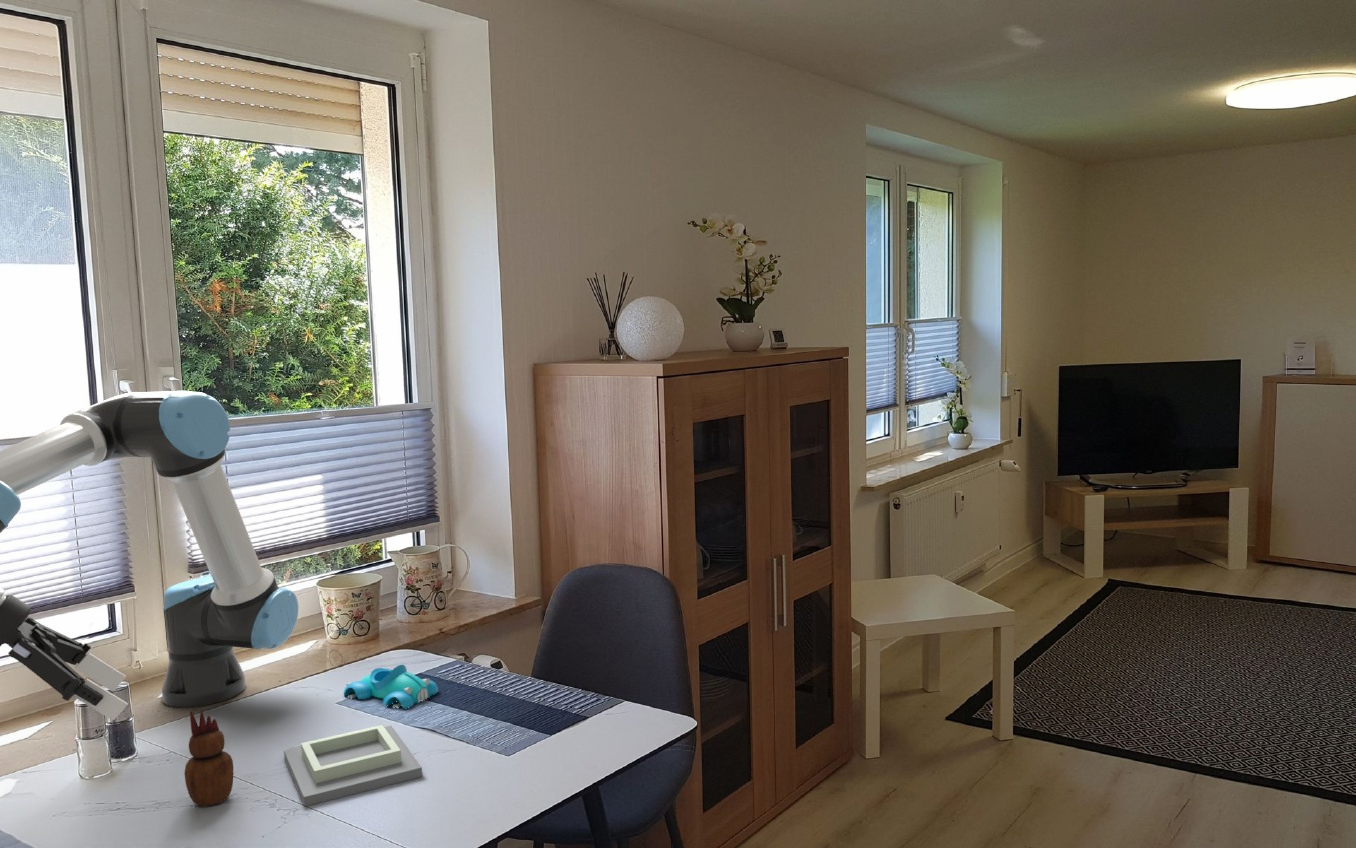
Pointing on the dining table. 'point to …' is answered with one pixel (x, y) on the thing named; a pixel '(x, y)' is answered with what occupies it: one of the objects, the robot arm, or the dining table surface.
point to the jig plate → (350, 764)
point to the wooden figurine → (208, 764)
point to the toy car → (392, 687)
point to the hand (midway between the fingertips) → (120, 697)
